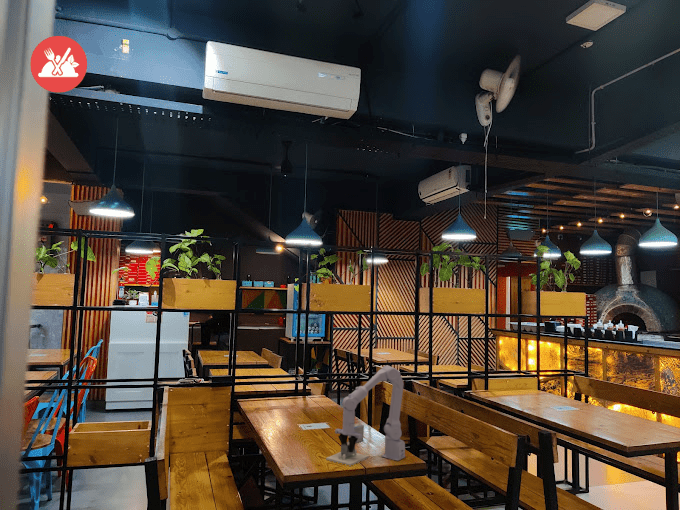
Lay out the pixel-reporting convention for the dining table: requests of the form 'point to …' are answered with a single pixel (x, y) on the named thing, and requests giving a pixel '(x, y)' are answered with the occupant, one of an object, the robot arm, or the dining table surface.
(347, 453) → the block
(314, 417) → the dining table surface
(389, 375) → the robot arm
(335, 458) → the pin tray
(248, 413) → the dining table surface
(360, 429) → the medicine box
